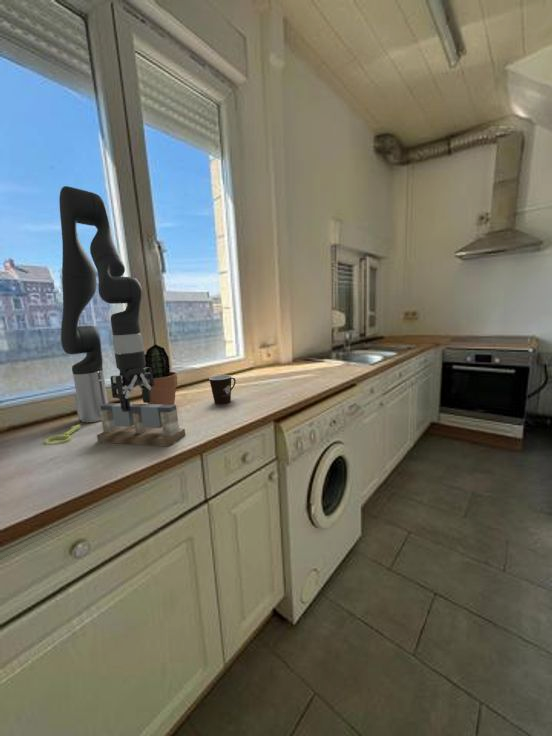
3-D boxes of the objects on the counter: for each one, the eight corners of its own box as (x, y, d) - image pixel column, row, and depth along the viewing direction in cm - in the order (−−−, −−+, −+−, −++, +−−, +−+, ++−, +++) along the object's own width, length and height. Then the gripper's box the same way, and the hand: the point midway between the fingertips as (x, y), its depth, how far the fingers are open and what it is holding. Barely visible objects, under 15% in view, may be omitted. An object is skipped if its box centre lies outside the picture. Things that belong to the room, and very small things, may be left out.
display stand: (97, 441, 91) (92, 412, 90) (118, 431, 99) (114, 404, 97) (169, 446, 85) (165, 415, 83) (185, 435, 92) (181, 406, 91)
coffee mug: (215, 406, 120) (212, 381, 118) (209, 401, 127) (206, 377, 126) (243, 401, 125) (241, 376, 123) (236, 396, 133) (234, 373, 131)
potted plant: (180, 401, 130) (173, 341, 126) (181, 410, 118) (173, 343, 113) (144, 406, 126) (136, 344, 122) (141, 416, 113) (132, 347, 109)
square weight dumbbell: (103, 425, 93) (100, 405, 92) (110, 422, 96) (107, 403, 95) (172, 428, 87) (170, 407, 86) (178, 425, 89) (175, 404, 88)
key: (82, 429, 104) (81, 423, 104) (68, 443, 92) (67, 437, 92) (57, 433, 102) (56, 427, 102) (40, 448, 91) (39, 441, 90)
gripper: (135, 348, 95) (142, 399, 98) (97, 354, 82) (107, 414, 85) (157, 347, 93) (163, 400, 96) (121, 354, 80) (130, 415, 82)
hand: (137, 406), depth 90 cm, fingers open, 8 cm apart
